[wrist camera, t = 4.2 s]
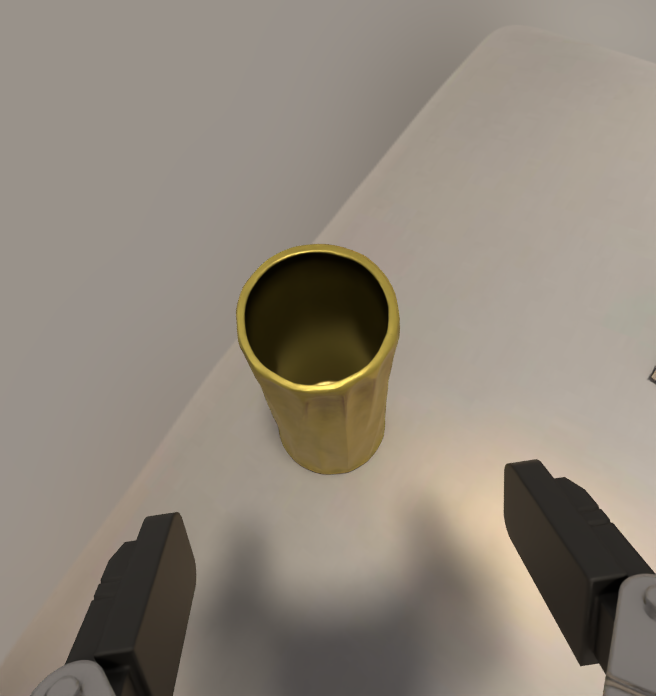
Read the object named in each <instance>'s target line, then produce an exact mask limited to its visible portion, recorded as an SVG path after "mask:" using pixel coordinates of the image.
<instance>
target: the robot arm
mask: <svg viewBox="0 0 656 696" xmlns="http://www.w3.org/2000/svg"><path fill="white" fill-rule="evenodd" d="M504 519H505V524H506V528H507V531H508V534H509V537H510V539H511V541H512V543H513V545H514V546H515V548H516V550H517V552H518V554H519V555H520V557H521V559H522V561H523V563H524V565H525V566H526V568H527V570H528V572H529V574H530V575H531V577H532V579H533V581H534V583H535V584H536V586H537V588H538V590H539V592H540V594H541V595H542V597H543V599H544V601H545V603H546V604H547V606H548V608H549V610H550V612H551V614H552V615H553V617H554V619H555V621H556V623H557V624H558V626H559V628H560V630H561V632H562V634H563V635H564V637H565V639H566V641H567V643H568V644H569V646H570V648H571V650H572V652H573V654H574V655H575V657H576V659H577V661H578V663H579V664H580V666H585V665H591V664H598V663H599V664H600V666H601V667H602V669H603V671H604V672H605V674H606V678H605V684H604V691H603V696H656V574H655V573H654V571H653V570H652V569H651V568H650V567H649V566H648V564H647V563H646V562H645V561H644V560H643V558H642V557H641V556H640V555H639V554H638V552H637V551H636V550H635V549H634V548H633V546H632V545H631V544H630V543H629V542H628V540H627V539H626V538H625V537H624V536H623V534H622V533H621V532H620V531H619V530H618V529H617V527H616V526H615V525H614V524H613V523H611V522H610V519H609V518H608V517H607V515H606V514H605V513H604V512H603V511H602V509H599V507H598V505H597V503H596V502H595V501H594V500H593V499H592V497H591V496H590V495H589V494H588V493H587V492H586V490H585V489H583V488H581V487H580V486H578V485H577V484H575V483H574V482H572V481H570V480H569V479H567V478H566V477H562V478H555V479H554V478H553V477H552V475H551V474H550V473H549V472H548V470H547V469H546V468H545V466H544V465H543V464H542V463H541V461H539V460H537V459H535V460H528V461H522V462H515V463H508V464H506V465H505V469H504ZM195 585H196V565H195V559H194V556H193V552H192V549H191V546H190V543H189V539H188V536H187V533H186V530H185V526H184V523H183V520H182V517H181V515H180V514H179V513H178V512H175V513H168V514H161V515H155V516H148V517H146V518H145V519H144V521H143V524H142V527H141V529H140V532H139V535H138V537H137V540H136V541H130V542H125V543H124V544H123V545H122V546H121V547H120V548H119V550H118V551H117V552H116V553H115V554H114V555H113V556H112V558H111V559H110V560H109V562H108V564H107V566H106V569H105V571H104V573H103V576H102V578H101V584H99V585H98V588H97V590H96V592H95V595H94V600H92V602H91V604H90V606H89V609H88V611H87V614H86V616H85V618H84V621H83V623H82V625H81V628H80V630H79V632H78V635H77V637H76V640H75V642H74V644H73V647H72V649H71V651H70V654H69V656H68V658H67V661H66V663H65V665H64V666H62V667H60V668H58V669H57V670H55V671H54V672H52V673H51V674H50V675H48V676H47V677H46V678H45V679H44V680H43V681H42V682H41V683H40V684H39V685H38V686H37V687H36V688H35V690H34V691H33V692H32V694H31V695H30V696H173V692H174V687H175V682H176V678H177V673H178V668H179V663H180V658H181V653H182V649H183V644H184V639H185V634H186V629H187V624H188V620H189V615H190V610H191V605H192V600H193V595H194V591H195Z"/></svg>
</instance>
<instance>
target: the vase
mask: <svg viewBox="0 0 656 696" xmlns="http://www.w3.org/2000/svg"><path fill="white" fill-rule="evenodd" d="M236 320H237V334H238V342H239V345H240V348H241V350H242V351H243V353H244V355H245V358H246V360H247V362H248V364H249V366H250V368H251V370H252V372H253V374H254V376H255V378H256V379H257V381H258V382H259V384H260V386H261V388H262V390H263V393H264V396H265V399H266V401H267V403H268V406H269V408H270V410H271V413H272V415H273V417H274V419H275V421H276V422H277V424H278V428H279V434H280V438H281V441H282V444H283V446H284V448H285V449H286V451H287V452H288V454H289V455H290V456H291V457H292V458H293V459H294V460H295V462H297V463H298V464H300V465H301V466H303V467H305V468H307V469H308V470H311V471H313V472H316V473H320V474H338V473H346V472H350V471H352V470H354V469H356V468H358V467H359V466H361V465H363V464H364V463H366V462H367V461H368V460H369V459H370V458H371V457H372V456H373V454H374V453H375V452H376V450H377V449H378V447H379V445H380V443H381V441H382V439H383V436H384V430H385V412H386V399H387V392H388V380H389V376H390V372H391V368H392V362H393V358H394V354H395V350H396V347H397V344H398V340H399V334H400V325H399V324H400V318H399V310H398V304H397V299H396V295H395V292H394V290H393V287H392V285H391V283H390V282H389V280H388V279H387V277H386V276H385V275H384V273H383V272H382V271H381V270H380V269H379V268H378V266H377V265H376V264H374V263H373V262H372V261H371V260H370V259H368V258H367V257H366V256H364V255H362V254H360V253H358V252H355V251H353V250H350V249H347V248H344V247H340V246H335V245H329V244H311V245H302V246H296V247H292V248H289V249H287V250H284V251H282V252H280V253H278V254H276V255H274V256H273V257H271V258H269V259H268V260H267V261H265V262H264V263H263V264H262V265H261V266H260V267H259V268H258V269H257V270H256V271H255V272H254V273H253V274H252V276H251V277H250V278H249V279H248V280H247V282H246V283H245V285H244V287H243V289H242V291H241V294H240V297H239V300H238V303H237V310H236Z"/></svg>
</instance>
